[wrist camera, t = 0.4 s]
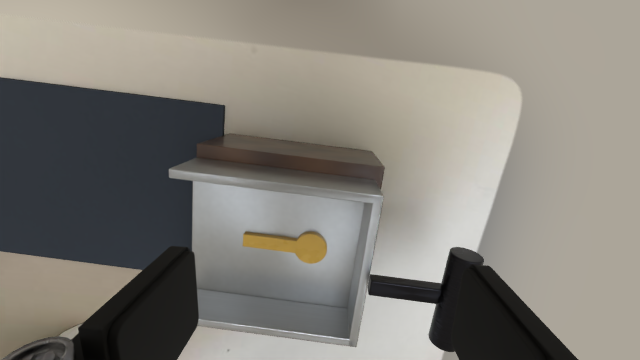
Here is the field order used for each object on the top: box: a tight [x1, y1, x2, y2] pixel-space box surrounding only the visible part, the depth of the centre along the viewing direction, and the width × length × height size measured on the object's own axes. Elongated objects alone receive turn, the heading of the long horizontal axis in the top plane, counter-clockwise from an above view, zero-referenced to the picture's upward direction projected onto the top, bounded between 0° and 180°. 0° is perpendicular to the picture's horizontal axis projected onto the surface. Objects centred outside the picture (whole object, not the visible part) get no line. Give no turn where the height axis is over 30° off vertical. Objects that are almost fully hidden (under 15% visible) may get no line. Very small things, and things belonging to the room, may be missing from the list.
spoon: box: [243, 231, 327, 264], centre depth 22 cm, size 6×2×1 cm, turn 83°
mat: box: [0, 78, 225, 270], centre depth 30 cm, size 36×18×1 cm, turn 83°
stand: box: [197, 134, 385, 190], centre depth 26 cm, size 14×13×7 cm
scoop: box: [169, 158, 484, 352], centre depth 20 cm, size 19×11×6 cm, turn 83°
